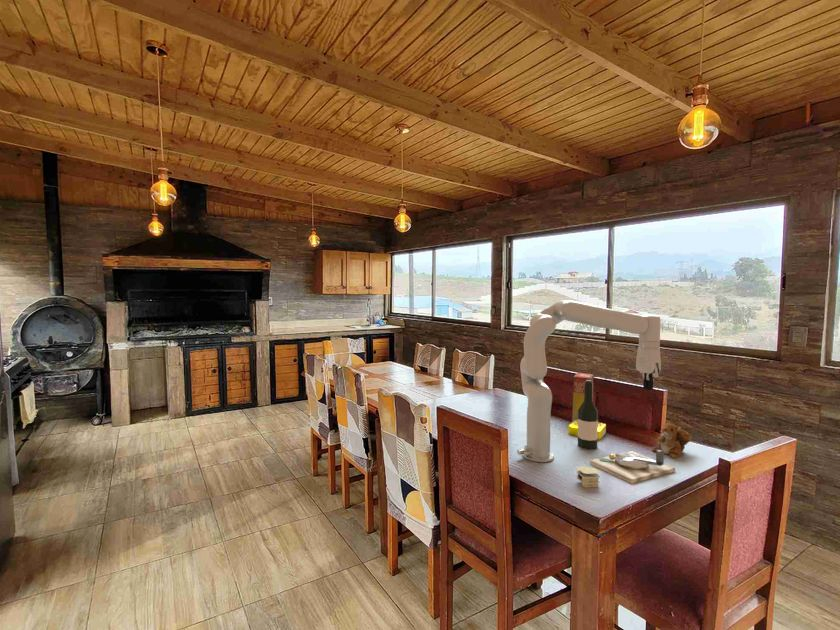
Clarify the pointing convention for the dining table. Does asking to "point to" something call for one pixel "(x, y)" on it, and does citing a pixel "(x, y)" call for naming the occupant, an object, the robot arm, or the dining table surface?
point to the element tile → (574, 429)
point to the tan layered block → (588, 476)
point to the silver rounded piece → (637, 460)
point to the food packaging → (579, 392)
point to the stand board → (631, 474)
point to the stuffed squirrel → (672, 440)
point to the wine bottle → (588, 420)
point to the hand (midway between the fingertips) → (648, 389)
